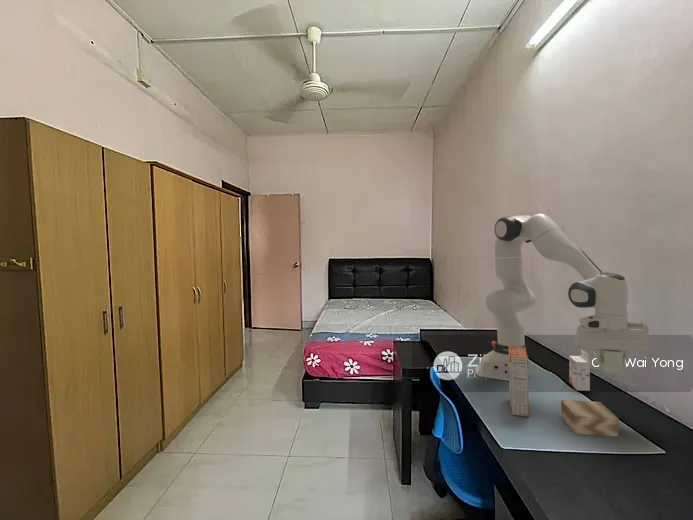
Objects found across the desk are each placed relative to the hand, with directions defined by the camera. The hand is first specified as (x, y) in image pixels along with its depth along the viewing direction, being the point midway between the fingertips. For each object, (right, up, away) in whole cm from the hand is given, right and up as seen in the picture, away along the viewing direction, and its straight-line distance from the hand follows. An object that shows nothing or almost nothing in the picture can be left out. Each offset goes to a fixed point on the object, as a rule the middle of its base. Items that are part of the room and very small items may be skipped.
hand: (610, 362), depth 125 cm
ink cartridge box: (+7, -18, +28) cm, 34 cm away
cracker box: (-26, -20, +10) cm, 34 cm away
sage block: (0, -3, 0) cm, 3 cm away
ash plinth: (-10, -20, -4) cm, 22 cm away
